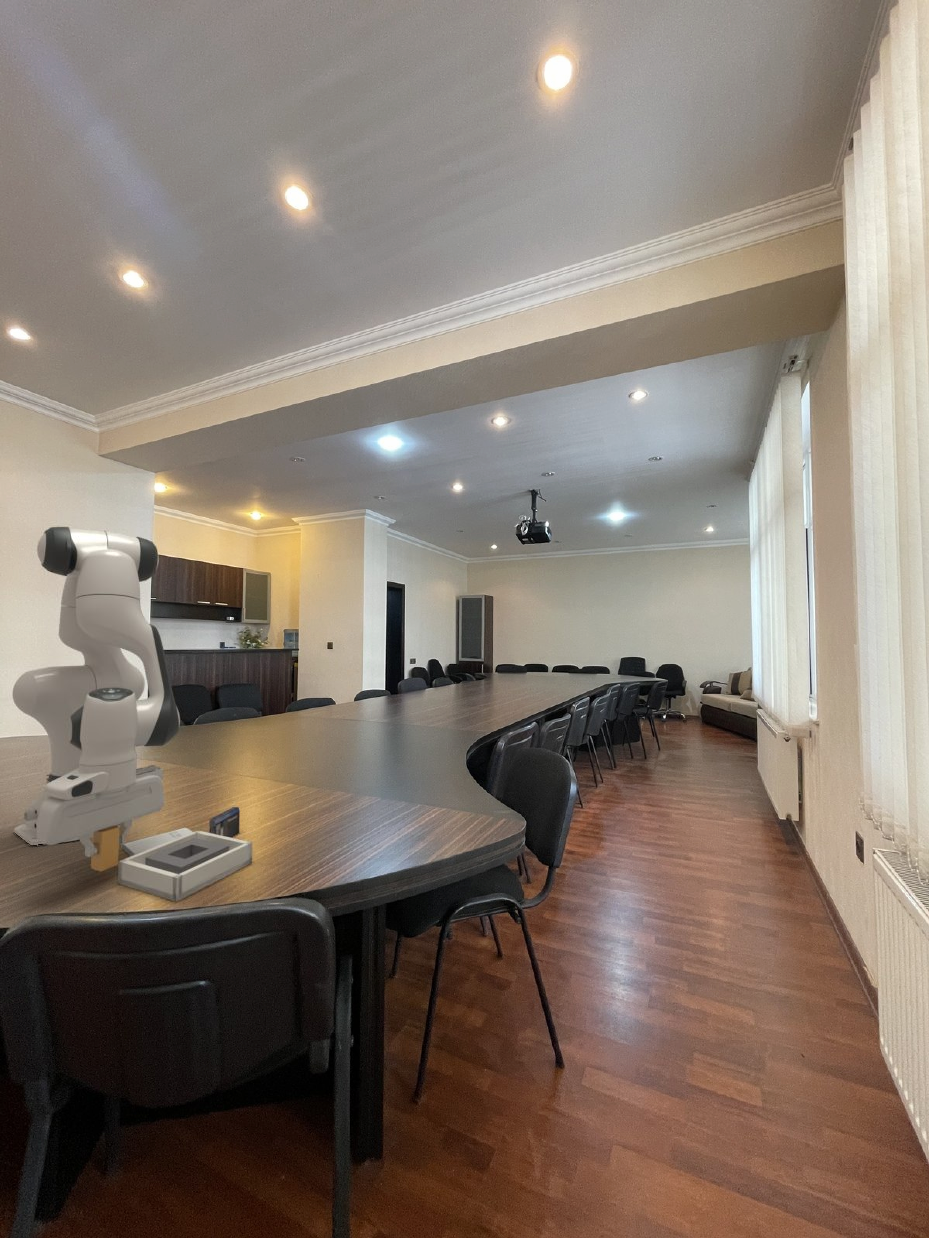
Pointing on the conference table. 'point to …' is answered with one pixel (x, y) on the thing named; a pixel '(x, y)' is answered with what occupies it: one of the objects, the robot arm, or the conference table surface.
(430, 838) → the conference table surface
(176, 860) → the walled box
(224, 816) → the mini dv tape
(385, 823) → the conference table surface
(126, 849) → the external hard drive
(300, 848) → the conference table surface
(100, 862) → the tan rectangular block
